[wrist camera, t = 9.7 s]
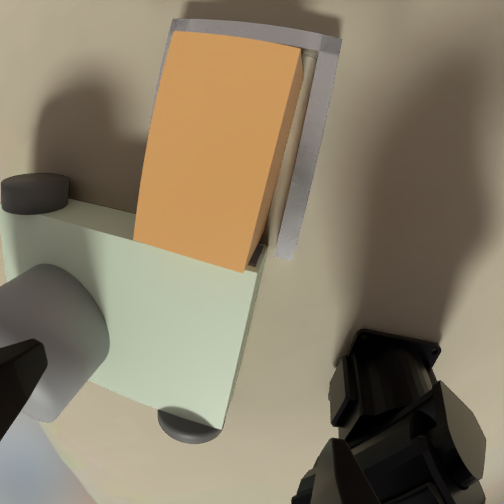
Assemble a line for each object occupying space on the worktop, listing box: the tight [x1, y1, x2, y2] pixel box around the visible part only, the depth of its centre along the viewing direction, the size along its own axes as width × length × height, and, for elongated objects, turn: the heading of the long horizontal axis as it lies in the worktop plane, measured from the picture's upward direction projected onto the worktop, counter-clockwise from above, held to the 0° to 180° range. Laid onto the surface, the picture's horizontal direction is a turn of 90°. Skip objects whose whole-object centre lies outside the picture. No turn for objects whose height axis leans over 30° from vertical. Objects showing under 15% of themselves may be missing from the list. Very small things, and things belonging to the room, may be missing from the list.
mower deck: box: [0, 173, 268, 444], centre depth 17 cm, size 18×15×10 cm
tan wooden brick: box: [133, 31, 303, 273], centre depth 14 cm, size 5×9×6 cm, turn 167°
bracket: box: [149, 19, 342, 261], centre depth 16 cm, size 9×12×2 cm
